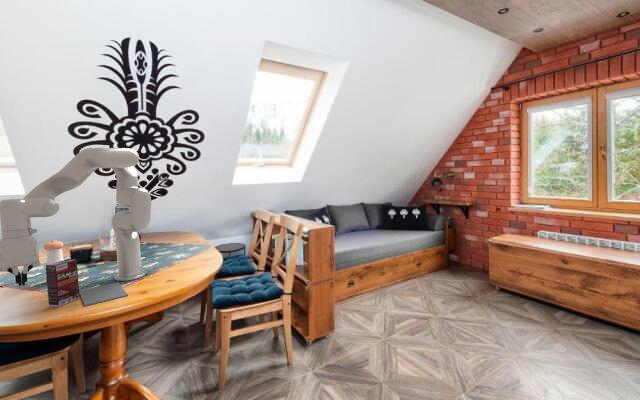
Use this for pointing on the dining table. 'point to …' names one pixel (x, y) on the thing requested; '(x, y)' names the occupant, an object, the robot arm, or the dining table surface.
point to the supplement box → (62, 282)
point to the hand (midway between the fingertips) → (21, 284)
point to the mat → (102, 293)
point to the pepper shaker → (54, 251)
